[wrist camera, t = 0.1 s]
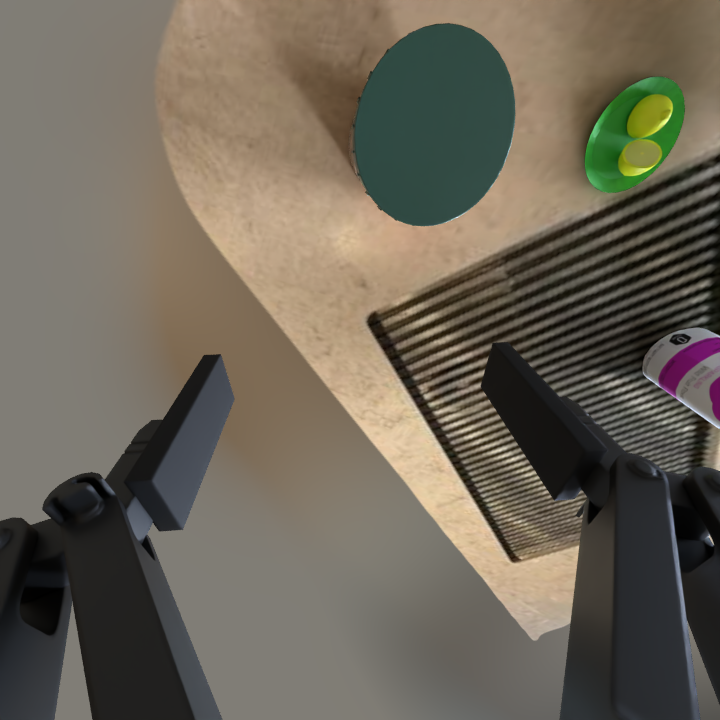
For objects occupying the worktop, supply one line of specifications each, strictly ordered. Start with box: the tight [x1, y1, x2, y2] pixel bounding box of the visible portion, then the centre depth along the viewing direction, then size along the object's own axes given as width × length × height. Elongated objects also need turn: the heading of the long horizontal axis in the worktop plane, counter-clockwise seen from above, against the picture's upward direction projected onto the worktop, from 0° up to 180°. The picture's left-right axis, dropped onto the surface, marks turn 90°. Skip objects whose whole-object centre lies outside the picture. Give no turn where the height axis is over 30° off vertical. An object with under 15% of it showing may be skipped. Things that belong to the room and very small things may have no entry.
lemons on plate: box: [585, 77, 685, 193], centre depth 25 cm, size 8×8×3 cm
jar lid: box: [351, 23, 515, 226], centre depth 16 cm, size 8×8×2 cm
